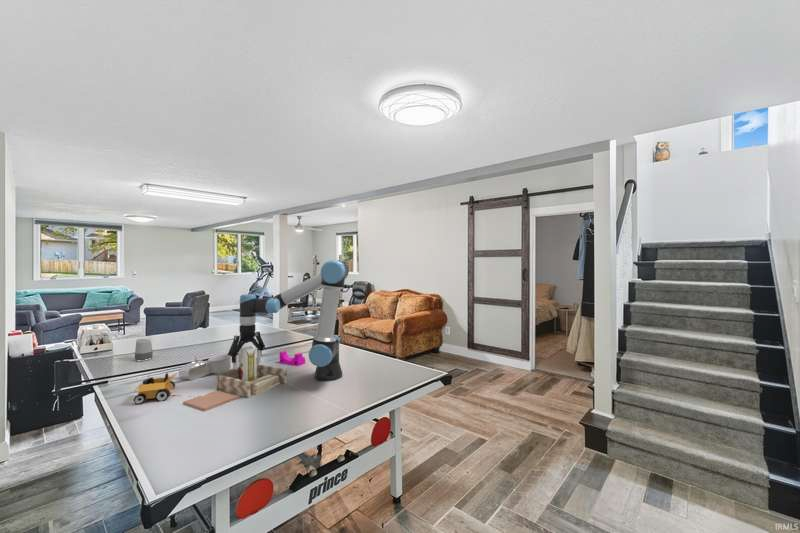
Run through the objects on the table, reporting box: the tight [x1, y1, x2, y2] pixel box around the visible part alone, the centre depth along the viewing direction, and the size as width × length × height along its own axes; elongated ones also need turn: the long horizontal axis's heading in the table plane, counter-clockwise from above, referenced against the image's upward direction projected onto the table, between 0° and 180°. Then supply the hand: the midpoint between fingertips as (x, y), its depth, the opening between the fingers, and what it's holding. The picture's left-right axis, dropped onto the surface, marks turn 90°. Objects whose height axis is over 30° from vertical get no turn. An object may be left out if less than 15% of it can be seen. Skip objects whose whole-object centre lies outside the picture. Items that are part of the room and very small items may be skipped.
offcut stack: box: [250, 375, 281, 396], centre depth 171 cm, size 7×16×5 cm, turn 157°
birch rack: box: [216, 362, 288, 399], centre depth 175 cm, size 23×23×8 cm
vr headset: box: [178, 356, 213, 381], centre depth 187 cm, size 14×9×11 cm, turn 150°
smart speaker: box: [134, 338, 153, 361], centre depth 224 cm, size 10×9×14 cm
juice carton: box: [237, 345, 258, 381], centre depth 177 cm, size 8×9×19 cm
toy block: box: [279, 350, 306, 367], centre depth 215 cm, size 15×6×8 cm, turn 64°
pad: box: [182, 389, 240, 412], centre depth 156 cm, size 16×16×1 cm
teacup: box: [207, 353, 232, 375], centre depth 194 cm, size 12×15×10 cm
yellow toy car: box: [133, 372, 178, 405], centre depth 161 cm, size 15×15×11 cm
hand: (247, 365), depth 177 cm, fingers open, 13 cm apart
